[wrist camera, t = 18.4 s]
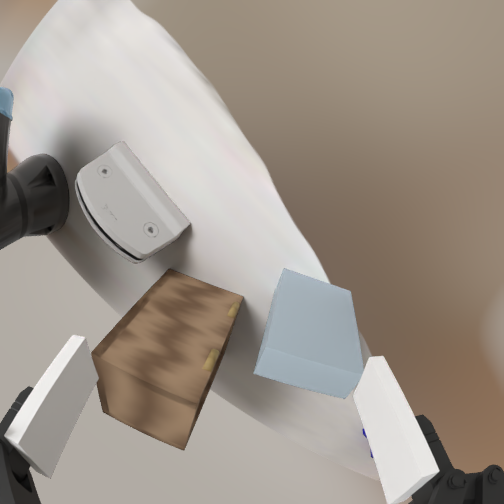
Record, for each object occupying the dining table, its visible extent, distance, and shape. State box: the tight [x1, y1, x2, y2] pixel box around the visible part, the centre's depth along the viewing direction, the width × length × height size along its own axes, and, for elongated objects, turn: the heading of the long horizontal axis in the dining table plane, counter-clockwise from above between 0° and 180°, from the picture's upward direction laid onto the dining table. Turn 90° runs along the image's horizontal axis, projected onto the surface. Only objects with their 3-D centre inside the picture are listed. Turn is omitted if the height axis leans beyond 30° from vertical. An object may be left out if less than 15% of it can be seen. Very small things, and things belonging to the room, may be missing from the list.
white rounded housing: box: [75, 141, 191, 264], centre depth 36 cm, size 17×5×10 cm, turn 40°
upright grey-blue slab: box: [253, 268, 364, 399], centre depth 33 cm, size 10×5×16 cm, turn 74°
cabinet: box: [91, 269, 243, 450], centre depth 36 cm, size 12×14×20 cm
